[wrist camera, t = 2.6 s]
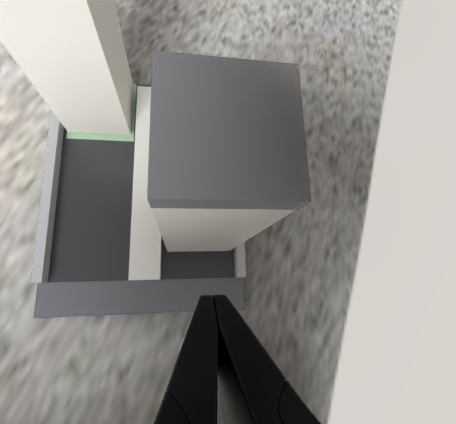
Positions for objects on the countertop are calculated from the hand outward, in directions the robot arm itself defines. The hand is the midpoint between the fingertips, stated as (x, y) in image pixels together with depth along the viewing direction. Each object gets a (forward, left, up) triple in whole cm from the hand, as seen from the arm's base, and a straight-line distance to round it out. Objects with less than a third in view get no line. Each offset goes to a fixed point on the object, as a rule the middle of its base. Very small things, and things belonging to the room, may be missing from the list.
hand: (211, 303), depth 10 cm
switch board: (+6, +3, -8) cm, 10 cm away
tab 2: (+4, 0, -7) cm, 8 cm away
